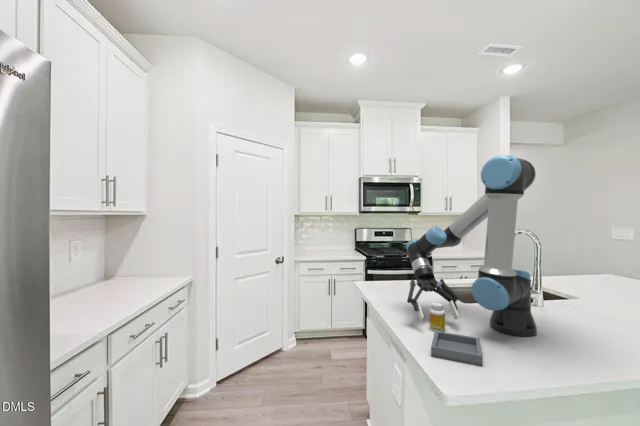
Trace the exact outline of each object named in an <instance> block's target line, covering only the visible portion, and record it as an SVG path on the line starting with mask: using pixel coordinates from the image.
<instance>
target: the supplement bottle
mask: <svg viewBox="0 0 640 426" xmlns="http://www.w3.org/2000/svg"><path fill="white" fill-rule="evenodd" d="M429 329H430V330H431V331H433V332H435V331H439V332H445V330H446V312H445V309H444V305H443V303H441V302H432V303H431V309H429Z"/></svg>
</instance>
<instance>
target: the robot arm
mask: <svg viewBox="0 0 640 426" xmlns="http://www.w3.org/2000/svg"><path fill="white" fill-rule="evenodd" d="M536 174H537V173H536V169H535V166H534V165H533V164H532V163H531V162H530V161H528V160H526V159H524V158H519V157H515V156H513V155H504V154H502V155H497V156H493V157H492V158H490V159H488V160H487V161H486V162H485V163H484V165H483V166H482V168H481V170H480V180H481V182H482V183H483V185H484V187H485V189H484V194H483V195H482V196H481V197H480V198H479V199H477V201H475V202H474V203H473V204H472V205H470V207H469V208H468V209H466V210H465V211H464V212H463V213H462V214H461V215H460V216H459V217H458V218H456V219H455V220H454V221H453V222H451V224H449V226H447V227H446V228H445V229H444V230H443V229H442V228H441V227H439V226H433V227H431V228H429V229H428V230H427V231H426V232H425V233H424V234H423V235H422V236H421V237H420V238H419V239H418V238H413V239H411V240H408V241H407V242H406V245H405V248H406V254H407V256H408V258H409V261H410V264H411V268H412V271H413V273H414V277H415V280H414V279H411V280H410V283H409V286H410V288H409V292H408V296H407V300H406V301H407V303H408V304H411V305H412V306H413V309H414V312H417V315H418V319H419V321H423V319H424V318H425V317H424V316H425V315H424V313H423V309H422V307H421V303H420V301H419V297H420V296H421V294H422V293H423V292H425V293H427V292H434V293H436V294H437V295H439V296H440V297H442V298H443V299H444V300H445V301H447V302H448V306H449V309H450V312H451V314H452V317H453V319H454V320H458V318H460V315H459V313H458V311H457V310H458V305H457V301H458V300H459V296H458V295H457V294H456V293H455V292H454V291H453V290H452V289H451V287H449V286H448V285H447V284H446V283H445V280H444V279H442V278H440V280H437V279H436V278H435V274H434V272H433V269H432V267H431V263H430V261H429V258H428V255H430V254H431V253H432V252H433V251H435V250H436V249H442V248H453V247H456V246H458V245H460V243H461V241H462V240H463V238H464V237H465V236H466V235H468V234H469V233H470V232H472V231H473V230H474V229H475V228H476V227H477V226H479V225H480V224H481V223H482V222H483V221H485V220H486V219H487V224H486V234H485V236H486V237H485V245H484V246H485V248H484V258H483V259H484V261H483V265H481V266H479V268H478V275H477V279H475V280H474V282H473V283H472V284H471V294H472V296H473V299H474V300H475V302H477V304H478V305H479V306H481V307H482V308H484V309H485V310H489V311H492V313H491V315H490V318H489V326H490V327H491V328H492V329H493V330H495V331H497V332H498V333H502V334H506V335H510V336H515V337H535V336H536V335H537V333H538V332H537V331H538V330H537V329H538V327H537V324H536V321H535V319H534V316H533V314H532V309H531V308H532V307H531V305H532V303H531V302H532V300H531V299H532V297H531V296H532V294H531V293H532V292H531V291H532V290H531V289H532V288H531V287H532V286H531V285H532V284H531V283H532V278H531V274H530V272H528V271H527V270H521V269H514V268H513V260H514V259H513V258H514V248H515V239H516V238H515V237H516V236H515V235H516V223H517V213H518V201H519V199H521V198H523V197H524V194H525V191H526V190H527V189H529V188H530V187H531V185H533V183H534V181H535V179H536ZM416 286H418V288H419V289H418V291H417V293H416V295H415V296H414V297H413V295H414V291H415V288H416Z"/></svg>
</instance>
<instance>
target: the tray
mask: <svg viewBox="0 0 640 426" xmlns="http://www.w3.org/2000/svg"><path fill="white" fill-rule="evenodd" d="M430 357H433V358H436V359H441V360H447V361H451V362H453V361H454V362H458V363H463V364H467V365H473V366H477V367H478V366H479V367H483V352H482V344H481V338H480V337H475V336H472V335H471V336H470V335H465V334H457V333H450V332H445V331H443V332H439V331H434V334H433V338H432V343H431V345H430Z"/></svg>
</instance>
